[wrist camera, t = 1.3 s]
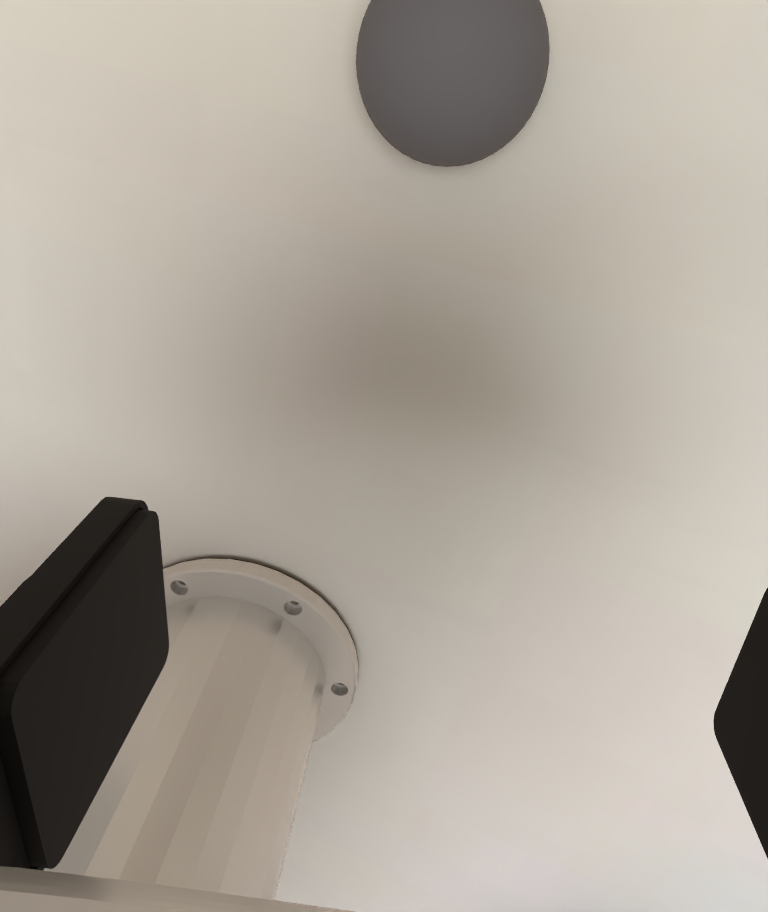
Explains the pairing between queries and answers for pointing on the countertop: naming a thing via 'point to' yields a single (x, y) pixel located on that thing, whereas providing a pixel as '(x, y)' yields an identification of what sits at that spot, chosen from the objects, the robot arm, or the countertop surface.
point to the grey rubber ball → (451, 74)
